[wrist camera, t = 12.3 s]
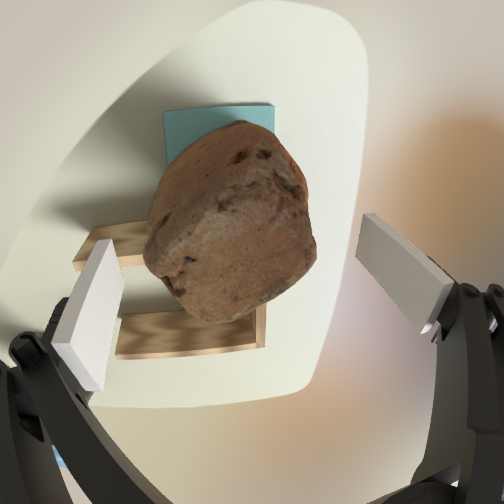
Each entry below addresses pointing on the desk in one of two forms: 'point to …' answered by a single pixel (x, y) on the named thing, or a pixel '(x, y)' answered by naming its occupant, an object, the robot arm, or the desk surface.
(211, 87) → the desk surface
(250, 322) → the wooden u-shaped enclosure
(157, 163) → the desk surface
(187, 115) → the mat
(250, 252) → the brown pitted rock
